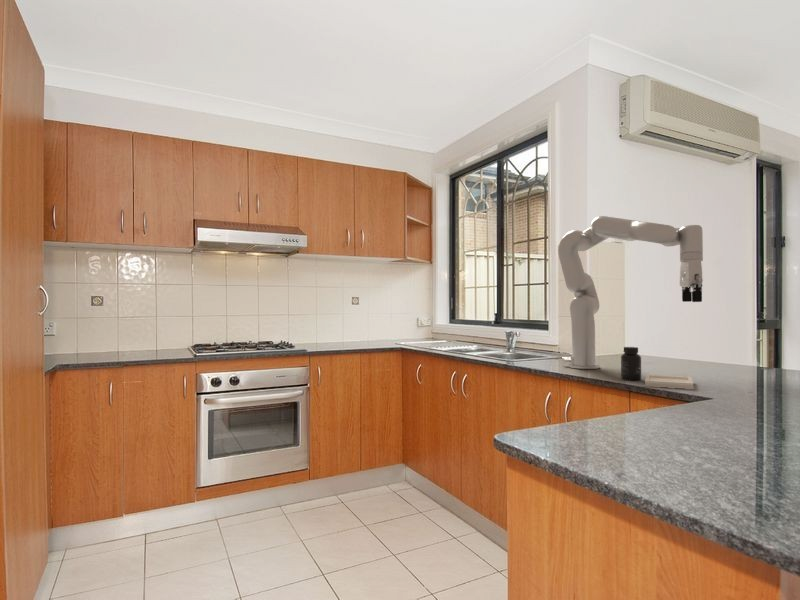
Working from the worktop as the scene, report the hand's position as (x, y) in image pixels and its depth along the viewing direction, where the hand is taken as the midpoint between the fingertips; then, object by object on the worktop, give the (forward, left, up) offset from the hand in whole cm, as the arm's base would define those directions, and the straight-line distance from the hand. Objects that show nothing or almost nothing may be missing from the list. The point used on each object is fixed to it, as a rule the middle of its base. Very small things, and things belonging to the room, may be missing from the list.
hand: (691, 301), depth 183 cm
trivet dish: (-8, -26, -28) cm, 40 cm away
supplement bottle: (-20, -20, -29) cm, 41 cm away
